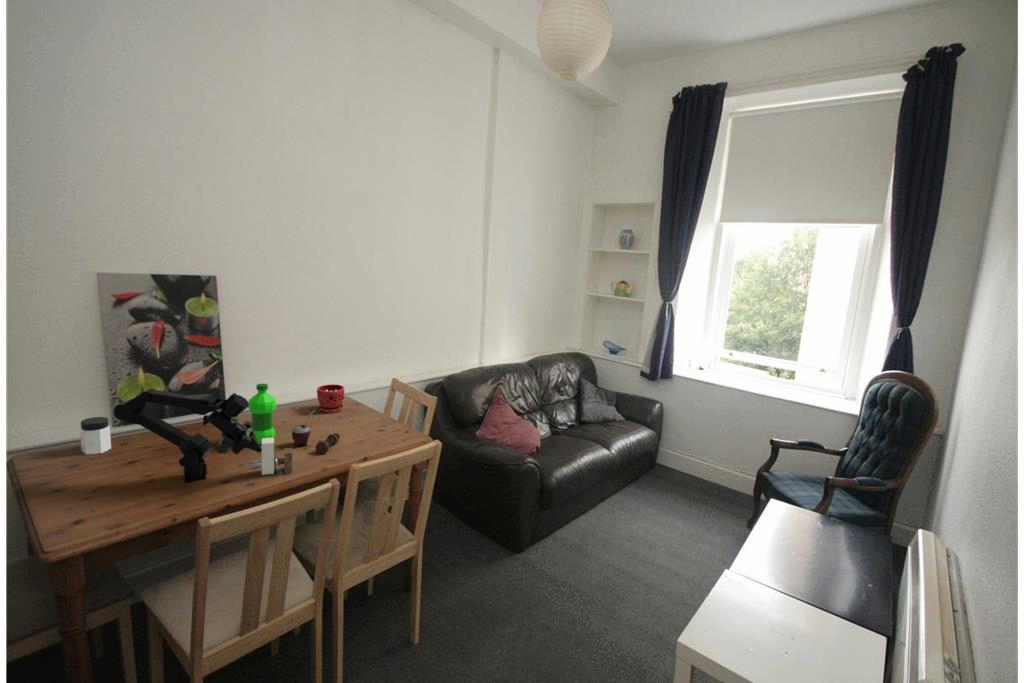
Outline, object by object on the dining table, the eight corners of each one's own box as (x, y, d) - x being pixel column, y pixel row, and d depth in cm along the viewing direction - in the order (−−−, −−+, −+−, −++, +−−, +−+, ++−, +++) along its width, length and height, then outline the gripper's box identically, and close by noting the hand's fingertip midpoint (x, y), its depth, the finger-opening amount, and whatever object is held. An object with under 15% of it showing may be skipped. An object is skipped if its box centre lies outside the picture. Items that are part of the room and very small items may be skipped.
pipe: (250, 469, 186) (250, 462, 185) (250, 465, 188) (250, 459, 188) (286, 465, 191) (286, 459, 190) (285, 462, 193) (285, 456, 193)
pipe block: (276, 474, 189) (276, 454, 187) (276, 468, 193) (276, 449, 192) (292, 473, 191) (292, 453, 190) (291, 467, 196) (291, 447, 194)
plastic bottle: (244, 445, 210) (243, 387, 206) (256, 436, 221) (255, 380, 216) (269, 447, 211) (268, 389, 206) (279, 438, 221) (279, 382, 216)
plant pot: (338, 404, 270) (338, 382, 268) (348, 411, 260) (348, 389, 258) (313, 407, 262) (313, 385, 259) (322, 415, 252) (322, 392, 250)
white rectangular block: (261, 474, 187) (261, 443, 184) (262, 468, 191) (262, 438, 189) (275, 473, 189) (275, 442, 186) (275, 467, 193) (275, 437, 191)
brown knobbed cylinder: (338, 444, 225) (323, 457, 210) (328, 438, 225) (312, 450, 210) (345, 434, 224) (330, 446, 209) (335, 427, 224) (320, 439, 209)
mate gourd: (288, 446, 214) (288, 412, 211) (300, 439, 221) (301, 406, 219) (302, 449, 212) (303, 415, 209) (315, 443, 219) (315, 409, 217)
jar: (78, 455, 190) (76, 425, 188) (84, 447, 197) (82, 417, 195) (108, 453, 194) (106, 423, 192) (113, 445, 201) (112, 416, 199)
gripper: (210, 430, 186) (244, 457, 193) (204, 450, 170) (241, 478, 176) (235, 409, 188) (268, 436, 195) (231, 427, 172) (267, 455, 178)
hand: (260, 451), depth 186 cm, fingers closed
